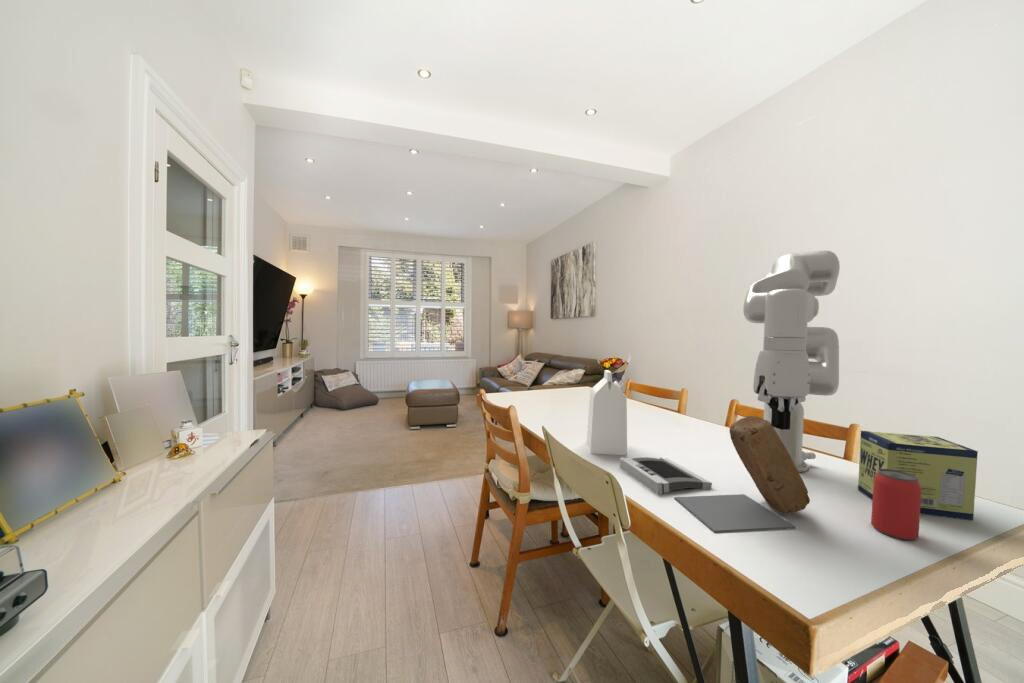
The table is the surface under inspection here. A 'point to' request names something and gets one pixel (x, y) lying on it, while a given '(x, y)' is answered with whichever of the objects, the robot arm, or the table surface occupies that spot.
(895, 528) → the beer can
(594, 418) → the milk
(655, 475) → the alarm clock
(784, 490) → the block
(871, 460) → the protein box
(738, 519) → the mat
